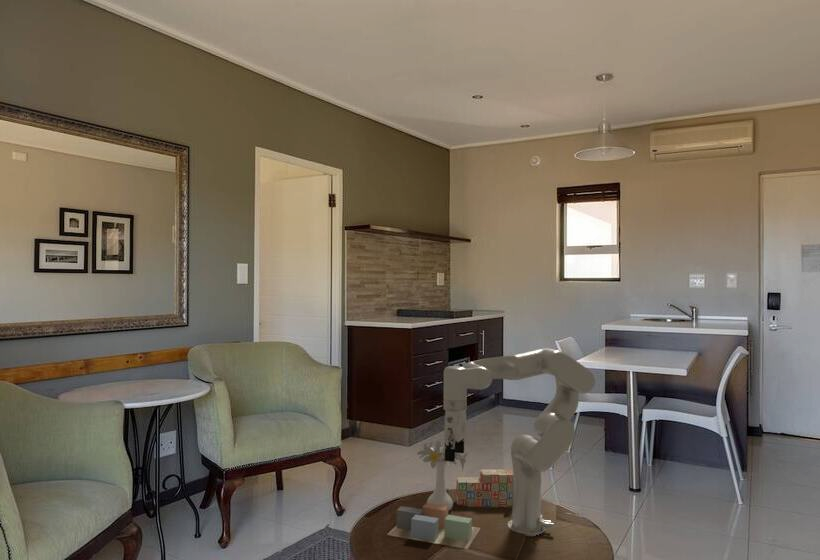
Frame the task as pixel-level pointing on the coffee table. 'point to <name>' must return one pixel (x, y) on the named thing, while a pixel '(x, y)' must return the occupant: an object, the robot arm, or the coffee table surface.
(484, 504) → the stack of blocks
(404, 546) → the coffee table surface
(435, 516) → the terracotta brick
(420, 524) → the dusty blue brick
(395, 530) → the birch board
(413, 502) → the coffee table surface
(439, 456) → the flower vase
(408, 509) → the charcoal brick
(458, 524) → the sage brick
